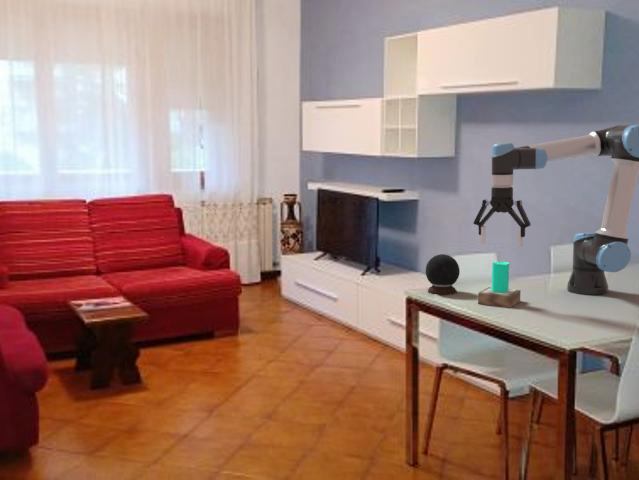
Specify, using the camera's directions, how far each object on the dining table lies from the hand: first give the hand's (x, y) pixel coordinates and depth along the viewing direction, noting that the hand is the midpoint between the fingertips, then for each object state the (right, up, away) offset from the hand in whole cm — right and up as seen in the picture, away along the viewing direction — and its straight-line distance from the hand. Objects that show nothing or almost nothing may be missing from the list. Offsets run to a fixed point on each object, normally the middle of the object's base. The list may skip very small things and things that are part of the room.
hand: (501, 245), depth 261 cm
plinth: (0, -21, +3) cm, 21 cm away
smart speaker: (-18, -19, +22) cm, 34 cm away
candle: (0, -17, +2) cm, 17 cm away
